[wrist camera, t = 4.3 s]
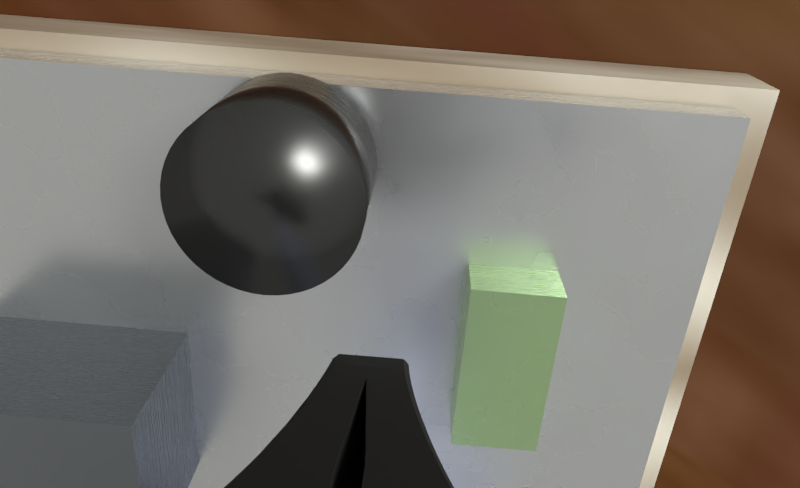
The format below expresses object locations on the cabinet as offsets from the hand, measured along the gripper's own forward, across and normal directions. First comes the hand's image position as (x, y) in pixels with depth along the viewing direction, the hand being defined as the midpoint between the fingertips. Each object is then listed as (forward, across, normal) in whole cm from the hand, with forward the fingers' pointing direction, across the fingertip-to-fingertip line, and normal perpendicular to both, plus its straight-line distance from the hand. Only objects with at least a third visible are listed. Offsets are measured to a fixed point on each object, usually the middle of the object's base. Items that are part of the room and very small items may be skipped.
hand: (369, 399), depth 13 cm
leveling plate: (+7, +3, +2) cm, 8 cm away
